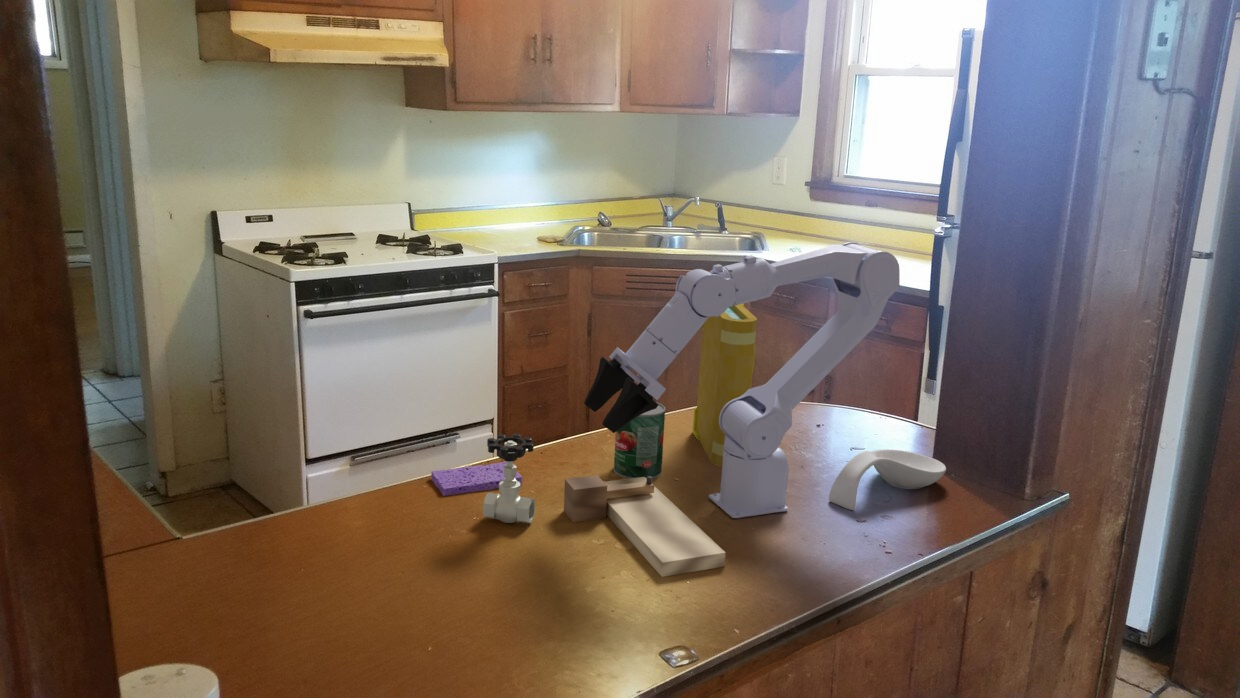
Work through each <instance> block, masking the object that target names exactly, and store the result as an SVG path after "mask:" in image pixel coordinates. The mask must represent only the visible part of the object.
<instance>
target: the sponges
mask: <svg viewBox="0 0 1240 698" xmlns="http://www.w3.org/2000/svg"><path fill="white" fill-rule="evenodd" d="M504 465H506V461H503V462H501V461H500V462H496V463H495V462H494V463H489V464H482V465H480V464H479V465H475V466H474V465H471V466H463V467H455V468H447V469H439V470H438V469H437V470H432V471H431V472H430V473H431V474H430V475H431V476H430V477H431V481H432V482H433V483H434V485H435V486H436V488H437V489H439V492H440V493H441V494H442V496H443V497H446V496H449V495H450V496H451V495H458V494H459V495H460V494H465V493H474V492H479V491H480V492H482V491H486V490H487V491H488V490H495V489H499V483H500V482H501V481H503V479H504V478H506V477H505V476H504V475H503V466H504ZM514 478H515V479H516V481H518V482H520V486H523V476H522V475H521V474H520V473H519V472H518V471H516V476H514Z"/></svg>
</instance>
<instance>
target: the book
mask: <svg viewBox="0 0 1240 698" xmlns="http://www.w3.org/2000/svg"><path fill="white" fill-rule="evenodd" d="M757 325H758V318H757V317H756V316H755V315H754V314H753V313H751V311H749V310H748V308H746V307H745V303H743V304H739V305H735V306H731V307H728V308H727V310H726V311H725V312H724V313H723V314H721V315H720V316H718V317H716V316H712V317H709V318H708V319H707V320H706V321H705V322H704V324H703V325H702V326H701V327H700V328H702V329H701V330H702V332H701V342H700V343H701V346H700V355H699V357H700V359H699V372H698V373H699V374H698V375H699V376H698V386H697V399H696V400H697V402H696V403H697V404H696V407H694V409H693V421H692V434H693V436H694V435H695V436H694V438H695V437H696V438H695V440H696V439H699V440H700V441H699V440H698V441H699V442H700V444H701V445H702V448H703V447H704V448H703V450H704V449H705V450H704V452H705V451H706V452H705V454H706V453H707V454H706V455H707V458H708V459H709V461H710V463H711V462H712V464H713V465H715V466H717V465H718V467H720V466H721V467H720V468H722V464H723V452H724V443H725V433H724V432H723V431H722V430H721V428H720V425H719V415H720V412H721V410H722V408H723V407H724V406H725V405H726V404H727V403H728V402H729V401H731V400H733V399H736V398H738V397H740V396H742V395H743V394H744V393H745V392H746V391H747V390H748V389H751V388H752V384H753V383H752V382H753V374H754V370H755V360H756V359H755V358H756V347H757V346H756V337H757V336H756V335H757Z"/></svg>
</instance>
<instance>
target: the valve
mask: <svg viewBox="0 0 1240 698" xmlns="http://www.w3.org/2000/svg"><path fill="white" fill-rule="evenodd" d="M496 437H497V438H496V439H495V438H493V437H489V438H488V439H487V443H486V446H487V452H488V453H489V454H494V453H495V450H496V455H497V457H498V458H499V459H502V460H503V462H506V465H504V466H503V475H504V476H505V477H506V478H504V479H503V481H501V482H500V483H499V488H498V491H499V493H496V492H487V493H486V495H485V497H484V500H483V504H482V513H483V517H484V518H489V519H497V520H499V521H500V522H502V523H506V524H512V523H516V522H520V523H524V524H525V523H526V524H527V523H528V524H532V522H533V519H534V517H535V513H536V501H535V499H534V498H532V497H527V496H526V497H523V496H520V495H519V493H520V492H521V485H520V482H518V481H516V479H515V478H514V476H516V472H518V471H517V466H516V464H515V463H514V462H515V461H517V460H518V459H521V458H523V457H524V456H525V455H526V453H527V452H528V453H532V452H534V443H533V438H532V437H530V436H529V437H528V436H527V437H524V438H521V434H519V433H514V434H512V435H511V436H506V435H505V434H503V433H499V434H497V436H496ZM502 444H503V445H502ZM518 444H519V445H518Z"/></svg>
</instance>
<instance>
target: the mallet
mask: <svg viewBox="0 0 1240 698" xmlns="http://www.w3.org/2000/svg"><path fill="white" fill-rule="evenodd" d="M604 482H605V481H604V480H602V479H601V477H600V476H599V475H597V474H595V475H588V476H579V477H570V478H564V493H563V496H564V497H563V499H564V500H563V511H564V513H565V514H566V516H567V517H568V518H569V520H571V522H572V523H578V522H580V523H581V522H587V521H593V520H594V521H595V520H599V519H601V520H602V519H606V518H607V515H606V503H607V499H609V498H617V497H625V496H633V495H641V494H649V493H654V486H655V484H654V483H653V479H652V477H651V476H647V481H646V482H639V483H630V484H622V485H614V486H607V485H606V484H605V483H604Z"/></svg>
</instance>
